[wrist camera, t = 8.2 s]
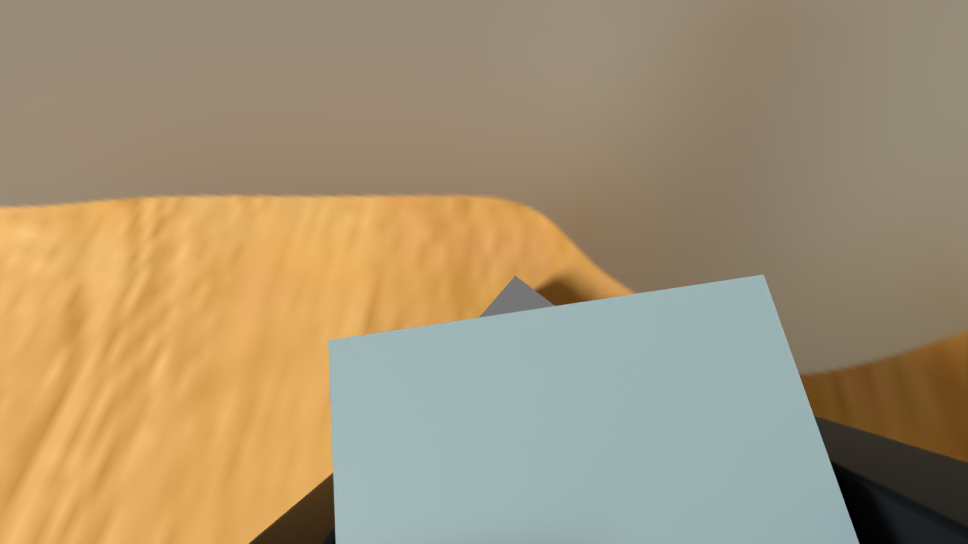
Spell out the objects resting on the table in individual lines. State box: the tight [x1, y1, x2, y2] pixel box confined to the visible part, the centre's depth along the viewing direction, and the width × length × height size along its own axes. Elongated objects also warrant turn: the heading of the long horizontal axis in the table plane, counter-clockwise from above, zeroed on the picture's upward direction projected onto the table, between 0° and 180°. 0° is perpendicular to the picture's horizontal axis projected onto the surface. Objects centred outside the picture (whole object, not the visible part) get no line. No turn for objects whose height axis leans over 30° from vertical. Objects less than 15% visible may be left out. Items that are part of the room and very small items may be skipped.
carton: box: [328, 275, 859, 544], centre depth 10 cm, size 5×5×10 cm
